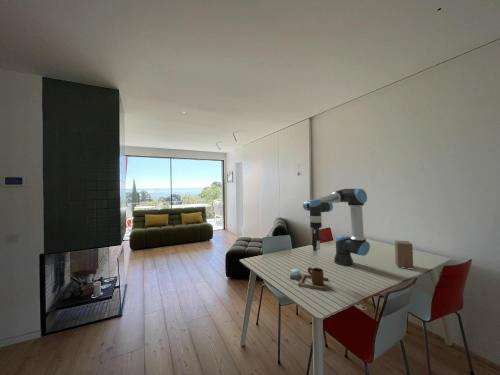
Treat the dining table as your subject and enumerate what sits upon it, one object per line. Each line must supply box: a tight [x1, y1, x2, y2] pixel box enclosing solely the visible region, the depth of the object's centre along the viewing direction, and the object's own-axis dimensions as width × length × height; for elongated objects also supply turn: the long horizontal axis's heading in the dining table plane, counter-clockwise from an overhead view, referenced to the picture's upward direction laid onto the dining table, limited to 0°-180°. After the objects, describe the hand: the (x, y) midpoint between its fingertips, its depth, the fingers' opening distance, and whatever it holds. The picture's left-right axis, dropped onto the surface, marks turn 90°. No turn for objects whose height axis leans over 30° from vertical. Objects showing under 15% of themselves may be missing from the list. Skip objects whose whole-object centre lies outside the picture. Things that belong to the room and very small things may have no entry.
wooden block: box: [394, 239, 414, 269], centre depth 166 cm, size 10×10×20 cm
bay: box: [297, 273, 329, 292], centre depth 139 cm, size 17×18×2 cm
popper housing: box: [289, 272, 303, 281], centre depth 148 cm, size 7×7×2 cm
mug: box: [307, 267, 325, 287], centre depth 139 cm, size 12×8×9 cm, turn 33°
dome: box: [291, 268, 301, 276], centre depth 148 cm, size 6×6×3 cm
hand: (316, 252), depth 140 cm, fingers open, 13 cm apart
